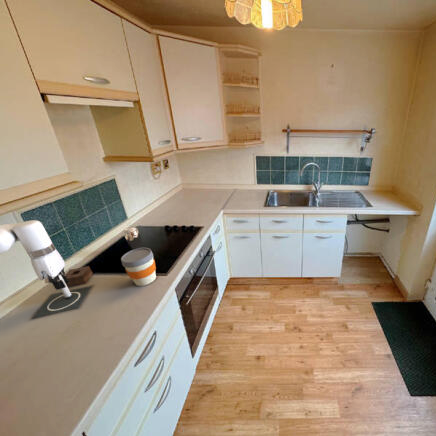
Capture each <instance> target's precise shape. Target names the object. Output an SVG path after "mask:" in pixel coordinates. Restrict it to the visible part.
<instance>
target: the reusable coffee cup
mask: <svg viewBox="0 0 436 436" xmlns="http://www.w3.org/2000/svg"><path fill="white" fill-rule="evenodd" d="M120 261H121V265H122V267H124V268H125V269H124V270H125V272H126V274H127V275H128V277H129V278H130V279H131V280H132V281H133V283H134V284H135V285H136V286H138V287H143V286H146V285H149V284H151V283H153V282H154V281H155V280H156V279H157V274H156V270H157V267H156V261H155V258H154V253H153V251H152V249H151V248H149V247H143V248H138V249H134V250H132V249H131V250H129V251H127V252H126V253H124V254H123V255H122V256H121V258H120Z"/></svg>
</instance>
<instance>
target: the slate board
mask: <svg viewBox="0 0 436 436" xmlns="http://www.w3.org/2000/svg"><path fill="white" fill-rule="evenodd" d="M91 288H92V285H91V286H86V287H82V288H77V289H72V290H69V291H70V292H71V294H72V297H71V298H69V299H66V298H65V296H64V294H63V293H62V292H59V293H58V292H57V293H54V294H51V295H50V296H49V297H48V298H47V300H46V301H45V302H44V303H43V305H42V306H41V307H40V308H39V310H38V311H37V312H36V313H35V315H34V316H33V317H32V320H34V319H38V318H42V317H47V316H51V315H56V314H59V313H63V312H68V311H72V310H76V309H79V308H80V306H81V305H82V303H83V301H84V300H85V298H86V296H87V295H88V293H89V292H90V290H91Z"/></svg>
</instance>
